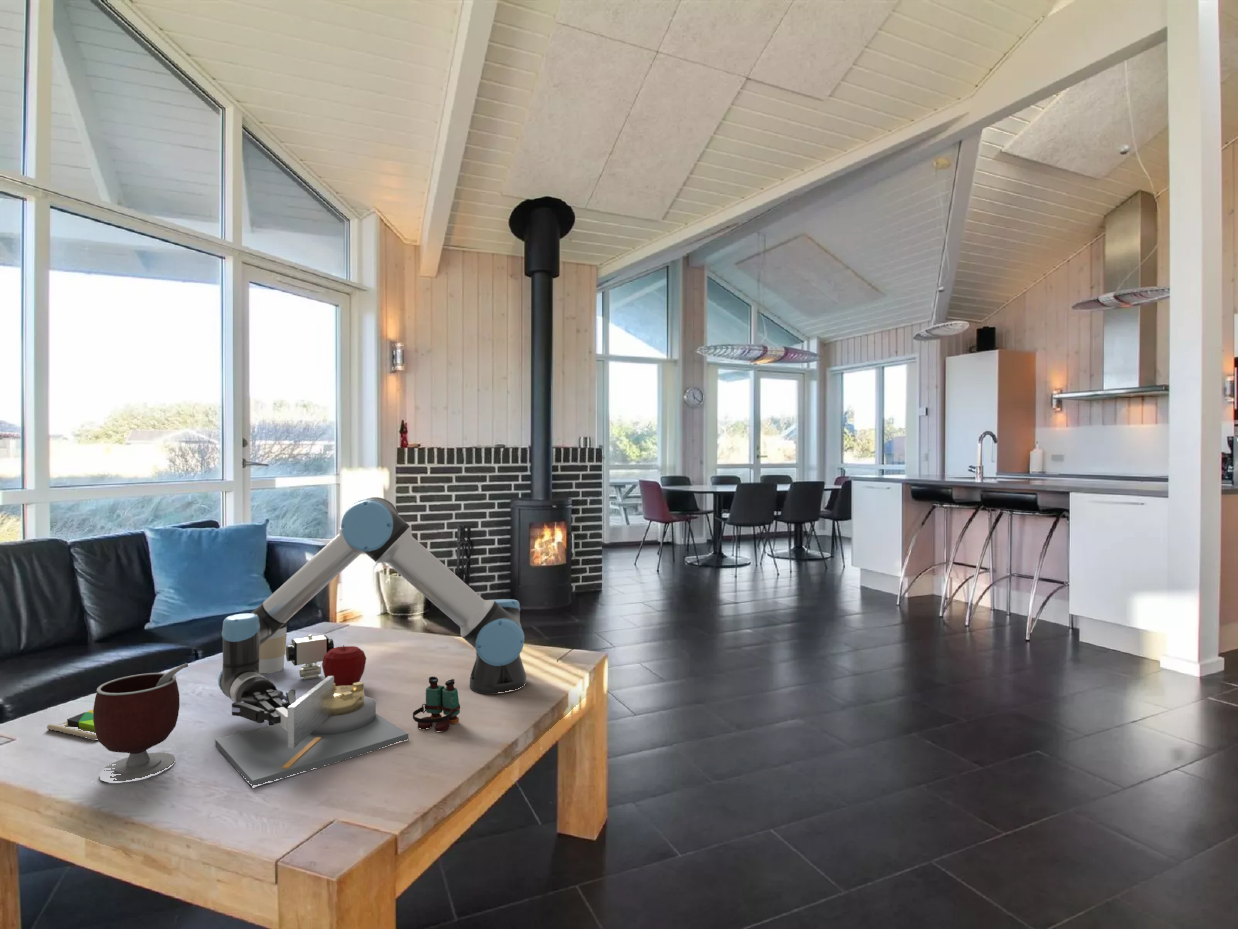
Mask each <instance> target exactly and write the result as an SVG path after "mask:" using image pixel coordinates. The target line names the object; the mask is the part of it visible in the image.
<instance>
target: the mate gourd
mask: <svg viewBox="0 0 1238 929" xmlns="http://www.w3.org/2000/svg"><path fill="white" fill-rule="evenodd" d="M184 668H189V664H188V662H185V663H184V664H181V665H178V666H176V667H175V668H173V669H171V670H169V671H167V672H149V673H141V674H133V675H128V676H123V677H118V678H115V679H113V680H109V681H107V682H104V683H102V684H100V685H99V686H98V687H97V688H96V694H95V698H94V703H93V707H92V710H93V722H94V727H95V732H96V736H97V739H98V741H97V742H98V743H100V744H101V745H102V746H103V747H104V748H105V749H106V750H108V751H109V752H111V753H112V752H113V753H121V754H129V755H128V757H125V758H122V759H119V760H116V761H115V762H112V763H110V764H111V765H110V764H108V765H109V766H108V765H106V766H105V767H104V768H111V770H106V771H114V772H112V773H113V774H121V775H116V776H114V777H112V776H110V778H116V779H117V780H115V779H114V780H113V781H126V780H132V779H135V778H142V777H145V776H148V775H150V774H155V773H157V772H159V771H162V770H164V769H165V768H168V767H169V766H170V765H172V764H173V763H174V761H175V762H176V757H175V755H174V754H172V753H169V752H162V751H161V752H148V751H147V750H149V749H151V748H153V747H155V746H157V745H159V744H162V742H164V741H166V740H167V738H168V737H169V735H170V734H171V733H172V732H173V730H174V729H175V728H176V725H177V723H178V722H177V721H178V717H179V713H180V712H179V711H180V691H179V685H178V681H177V677H176V674H177V673H178V672H180V671H181V670H183V669H184ZM112 764H116V765H114V766H112ZM112 768H115V769H112ZM104 771H105V770H104ZM112 773H111V774H112Z"/></svg>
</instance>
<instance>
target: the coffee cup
mask: <svg viewBox="0 0 1238 929" xmlns="http://www.w3.org/2000/svg"><path fill="white" fill-rule="evenodd" d="M287 623H288V621H287V622H286V623H284V625H283V626H281V627H280V628H279V629H278V630H277V631H276V633H275V634H274V635H272V636H271V637H270V638H269V639H267V640H266V641H265V642H264V643H262V644H261V645H260V646H259V673H260V674H261V673H267V674H273V672H274V673H277V671H278V672H280V670H281V671H282V670H284V666H285V656H286V646H287V636H288V635H287V634H288V633H287V627H288V624H287Z"/></svg>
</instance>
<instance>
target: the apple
mask: <svg viewBox="0 0 1238 929" xmlns="http://www.w3.org/2000/svg"><path fill="white" fill-rule="evenodd" d="M321 662H322V664H321V668H322V672H323V674H324V679H325V678H326V677H328V676H334V683H335V684H336V686H346V685H351V686H353V683H357V682H361V679H362V677H363V675H364V673H365V668H366V663H367V656H366V654H365V652H364V650H362V649H361V648H359V646H354V645H352V646H349V645H348V646H347V645H346V646H345V645H344V644H343V645H342V646H336V647H334V648H333V649H331V650H330V651H329V652H327V653H326V654H325V656H324V658H323V661H321Z"/></svg>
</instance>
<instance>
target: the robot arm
mask: <svg viewBox="0 0 1238 929" xmlns="http://www.w3.org/2000/svg"><path fill="white" fill-rule="evenodd" d="M364 554H366V556H368V557H369V558H370V559H372V561H374V563H376V564H381V563H382V564H383V563H385V564H387V565H388V566H389V567H391V568H392V569H393V570H394V571H395V572H396V573H397V574H399V576H400V577H402V578H403V579H404V580H406V582H408V583H409V584H410V585H411V586H413V588H415V589H416V590H417V591H418V592H419V593H421V594H422V595H423V596H424V597H425V598H426V599H427V600H429V601H430V602H431V604H433V605H434V606H435V607H436V608H438V609H439V610H440V611H441V612H442V613H443V614H445V615H446V616H447V617H448V618H449V619H451V620H452V621H453V622H454V623H455V624H456V625H457V626H458V627H459V628H460V636H461V638H462V639H464V640H465V641H466V642H467V643H468V644H469V645H470V646H472V647H473V648H474V649H475V654H476V656H475V661H474V664H473V667H472V670H471V673H470V676H469V688H470V690H471V691H473V690H474V691H473V692H475V691H477V692H476V693H479V692H480V694H485V693H490V694H489V695H492V694H491V693H498V692H505V691H509V690H515V689H518V688H520V687H522V686H524V684H525V683H526V684H527V673H526V671H525V667H524V664H523V661H522V657H521V652H522V651H523V648H524V645H525V633H524V630H523V627H522V624H521V618H520V617H521V615H520V612H521V608H520V606H521V604H520V601H519V600H516V599H513V598H512V599H510V598H507V599H506V598H501V599H484V598H482V597H481V596H480V595H479V594H478V593H476V591H475V590H473V588H471V587H470V586H468V584H467V583H465V582H464V580H462V579H461V578H460V577H459V576H458V575H456V573H454V572H453V571H452V570H451V569H450V568H449V567H448V566H446V565H445V564H444V563H443V562H442V561H441V560H439V559H438V558H437V557H436V556H435V555H434V554H433V553H431V551H430V550H428V549H427V548H426V547H425V546H424V545H423V544H421V542H419V541H418V540H417V539H416V538H414V536H413V534H412V526H411V525H409V523H407V521H405V520H404V519H403V518H402V517H401V516H400V515H399V512H398V510H397V508H396V506H395V504H393V503H392V502H391V501H389V500H387V499H385V498H384V497H383V498H382V497H377V496H376V497H375V496H374V497H369V498H366V499H364V498H363V499H361V500H358V501H356V502H355V503H353V504H352V505H351V506H349V507H348V509H347V510H346V511H345V513H344V514H343V516H342V519H341V523H340V526H339V533H338V534H337V535H336V536H335V537H334V538H332V539H331V540H330V541H329V542H328V543H327V544H326V545H324V547H323V548H321V549H320V550H319V551H318V552H317V553H316V554H315V555H314V556H312V557H311V558H310V559H309V560H308V561H307V562H306V563H304V565H303V566H302V567H300V569H299V570H297V571H296V572H295V573H294V574H293V575H291V576H290V577H289V578H288V579H287V580H286V581H285V582H284V583H283V584H282V585H281V586H280V587H278V588H277V589H276V590H275V591H274V592H273V593H272V594H271V595H269V597H268V598H266V599H265V600H264V601H263V602H262V603H260V605H258V606H257V607H256V608H255V609H254V610H253V611H252V612H251V613H250V612H249V613H248V612H247V613H246V612H245V613H238V614H237V613H236V614H232V615H229V616H227V617H225V618H224V620H223V622H222V631H221V637H222V639H221V640H222V670H221V671H220V673H219V675H218V678H217V679H218V680H217V682H218V687H219V688H220V690H221V693H223V695H224V696H226V697H228V698H229V699H230V700H231V701H232V702H231V716H234V717H240V718H241V717H242V718H244V719H246V720H249V721H252V722H253V723H254V722H255V723H257V724H263V723H265V721H267V722H268V724H267V726H269V725H274V724H277V723H278V724H279V725H280V726H281V727H282V728H284V729H285V730H286V731H288V707H289V706H290V705H291V704H293V703H294V702H295V701H297V699H296V697H297V694H296V689H294V688H293V689H290V690H288V691H286V692H283V690H278V689H277V686H276V685H275V684H274V683H273V682H272V681H270V680H269V679H267V678H266V677H265V676H263V675H262V674H261V673H259V646H260V645H261V644H262V643H264V642H265V641H266V640H267V639H269V638H270V637H271V636H272V635H274V634H275V633H276V631H277V630H278V629H279V628H280V627H281V626H283V625H284V623H286V622H287V623H288V621H289V620H291V618H292V617H293V616H294V615H295V614H297V613H298V612H299V611H300V610H301V609H302V608H303V607H304V606H305V605H306V604H307V603H309V602H310V601H311V600H312V599H313V598H314V597H315V596H316V595H318V593H320V592H321V591H322V590H323V589H324V588H325V587H326V586H327V585H328V584H329V583H331V581H333V580H334V579H335V578H336V577H337V576H338V575H339V574H341V573H342V572H343V571H344V570H345V569H346V568H347V567H348V566H349V565H350V564H351V563H353V562H354V561H355V560H356V559H357V558H358V557H360V555H364ZM524 687H525V686H524ZM283 700H284V701H285V702H284V701H283Z"/></svg>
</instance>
